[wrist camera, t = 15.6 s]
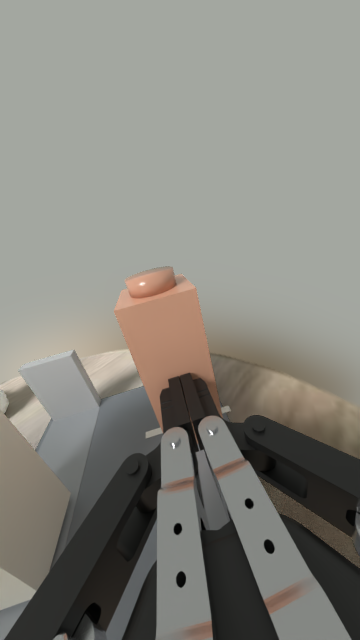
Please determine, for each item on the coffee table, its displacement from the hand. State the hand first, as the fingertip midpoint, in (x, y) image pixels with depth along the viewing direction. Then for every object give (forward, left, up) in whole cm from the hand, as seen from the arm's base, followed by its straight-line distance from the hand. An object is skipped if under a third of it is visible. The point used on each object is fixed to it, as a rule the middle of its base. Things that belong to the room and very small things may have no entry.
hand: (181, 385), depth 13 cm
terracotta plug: (0, +2, -6) cm, 7 cm away
